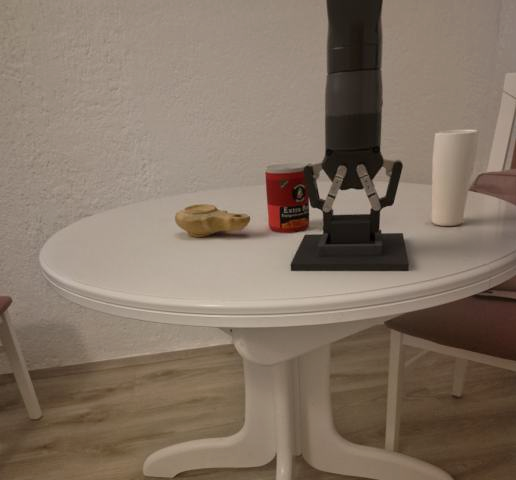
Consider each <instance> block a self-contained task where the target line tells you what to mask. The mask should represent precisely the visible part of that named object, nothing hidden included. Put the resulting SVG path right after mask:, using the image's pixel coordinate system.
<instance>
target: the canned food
mask: <svg viewBox="0 0 516 480" xmlns="http://www.w3.org/2000/svg"><path fill="white" fill-rule="evenodd" d="M307 164H308V163H307ZM307 164H306V163H302V162H293V163H292V162H289V163H280V164H279V163H277V164H271V165H267V166H266V167H265V172H264V173H265V174H264V175H265V190H266V206H267V221H268V226H269V229H270V230H271V231H273V232H276V233H297V232H302V231H305V230H306V229H308V228H309V224H310V201H309V196H308V191H307V186H306V182H305V177H304V172H303V169H304V167H305V166H306V165H307Z"/></svg>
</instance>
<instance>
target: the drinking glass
mask: <svg viewBox="0 0 516 480" xmlns="http://www.w3.org/2000/svg"><path fill="white" fill-rule="evenodd" d="M478 141H479V130H478V129H450V130H440V131H436V132H435V133H434V139H433V145H432V146H433V147H432V157H431V158H432V160H431V161H432V163H431V212H430V213H431V215H430V222H431V223H432V224H433V225H435V226H438V227H439V226H440V227H455V226H459V225H461V224H463V221H464V217H465V210H466V205H467V199H468V195H469V189H470V186H471V181H472V176H473V171H474V166H475V162H476V156H477V150H478Z"/></svg>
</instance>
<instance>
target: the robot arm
mask: <svg viewBox="0 0 516 480" xmlns="http://www.w3.org/2000/svg"><path fill="white" fill-rule="evenodd" d="M325 3H326V15H327V16H326V17H327V32H326V33H327V34H326V80H325V89H324V147H325V148H324V149H325V150H324V157H323V159H322V160H321V162H317V163H314V164H313V163H307V165H306V166H305V167H304V169H303V172H304V177H305V182H306V186H307V191H308V196H309V206H310V207H311V208H313V209H317V210H319V211H321V212H322V232H323V231H324V233H328V237H331V221H332V220H333V215H334V209H333V205H334V203H335V201H336V198H337V195H338V193H339V191H347V190H351V189H353V190H357V191H359V190H364V192H365V194H366V198H367V199H368V201H369V204H370V206H371V208H370V209H369V210H370V211H369V214H370V220H371V225H370V237H374V233H378V231H379V230H380V223H381V220H380V219H381V211H382V210H383V209H384V208H387V207H391V206H393V205H394V203H395V200H396V195H397V191H398V187H399V184H400V179H401V175H402V172H403V167H404V165H403V162H402V161H401V160H400V159H395V160H394V159H386V158H384V157H383V154H382V152H381V147H382V146H381V145H382V121H383V116H382V114H383V106H384V99H383V98H384V97H383V93H384V87H383V86H384V85H383V76H382V73H383V71H382V68H383V44H384V40H383V37H384V34H383V33H384V32H383V21H382V14H383V3H384V0H325ZM382 168H384V169H385V175H386V176H387V177H389V179H388V183H387V188H386V192H385V195H384V196H381V197H379V195H378V191H377V189H376V186H375V183H374V181H373V180H374V179H375V177H376V176H377V174H378V173H379V172H380V170H381V169H382ZM321 171H324V173H325V174H326V176H327V178H328V179H329V180H330V181H331V185H330V188H329V191H328V193H327V195H326V198H325V199H323V198H321V197H320V192H319V188H318V182H317V180H318V179H319V178H320V176H321Z"/></svg>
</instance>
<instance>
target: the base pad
mask: <svg viewBox="0 0 516 480" xmlns="http://www.w3.org/2000/svg"><path fill="white" fill-rule="evenodd" d="M409 266H410V262H409V258H408V252H407V247H406V242H405V237H404V233H403V232H387V233H386V232H382V229H379V231H378V233H374V237H370V244H331V237H328V233H324V231H323V230H322V233H319V234H316V233H315V234H304V235H303V237H302V240H301V242H300V244H299V246H298V248H297V250H296V252H295V254H294V255H293V258H292V260H291V262H290V271H304V272H305V271H307V272H308V271H319V272H320V271H321V272H322V271H325V272H326V271H328V272H329V271H330V272H331V271H334V272H335V271H337V272H338V271H341V272H342V271H343V272H345V271H349V272H350V271H351V272H352V271H353V272H355V271H359V272H360V271H361V272H363V271H368V272H369V271H371V272H372V271H373V272H374V271H375V272H376V271H378V272H381V271H383V272H384V271H386V272H387V271H388V272H389V271H393V272H395V271H396V272H397V271H399V272H400V271H401V272H403V271H404V272H405V271H406V272H407V271H408V272H409V268H410V267H409Z"/></svg>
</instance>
